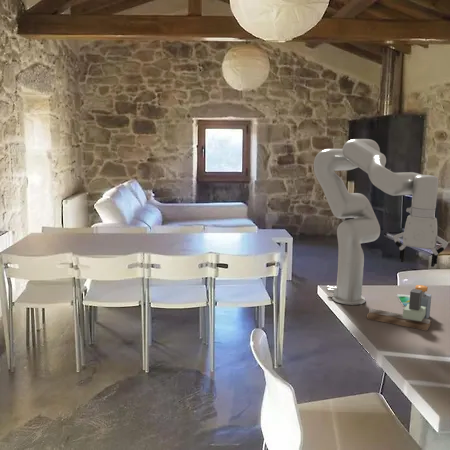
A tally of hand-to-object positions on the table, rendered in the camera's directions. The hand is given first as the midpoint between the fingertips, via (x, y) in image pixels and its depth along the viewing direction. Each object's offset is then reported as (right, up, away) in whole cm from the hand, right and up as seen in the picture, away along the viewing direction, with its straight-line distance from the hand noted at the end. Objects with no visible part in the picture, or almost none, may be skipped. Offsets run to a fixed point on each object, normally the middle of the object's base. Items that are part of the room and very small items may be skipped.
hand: (417, 263), depth 177 cm
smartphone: (+7, -17, +28) cm, 34 cm away
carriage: (0, -18, +3) cm, 18 cm away
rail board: (-4, -20, +6) cm, 22 cm away
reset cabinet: (+4, -20, +11) cm, 23 cm away
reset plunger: (+5, -14, +10) cm, 18 cm away
